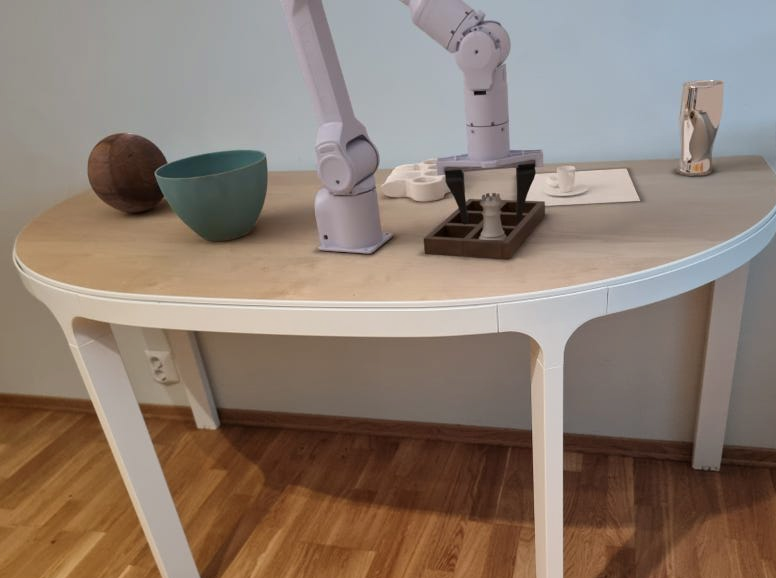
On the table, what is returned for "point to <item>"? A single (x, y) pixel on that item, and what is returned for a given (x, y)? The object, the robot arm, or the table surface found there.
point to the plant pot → (217, 191)
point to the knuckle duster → (416, 182)
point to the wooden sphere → (126, 172)
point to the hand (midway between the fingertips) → (492, 220)
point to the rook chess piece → (492, 218)
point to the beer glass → (699, 125)
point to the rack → (465, 237)
